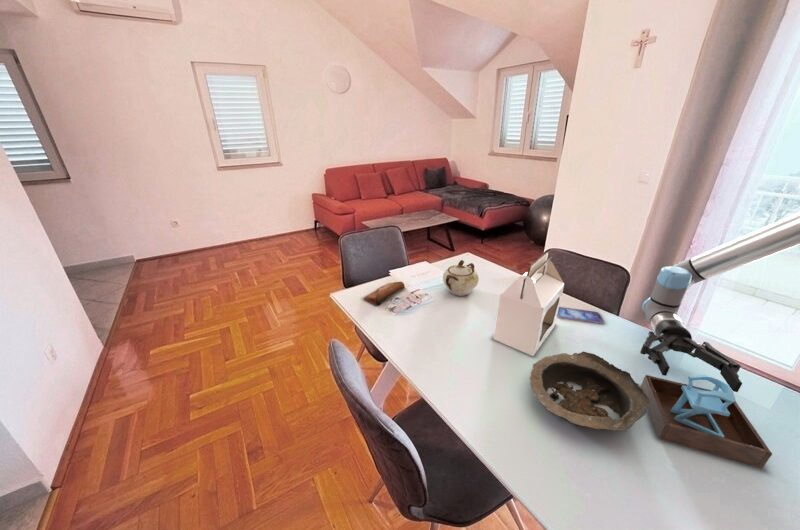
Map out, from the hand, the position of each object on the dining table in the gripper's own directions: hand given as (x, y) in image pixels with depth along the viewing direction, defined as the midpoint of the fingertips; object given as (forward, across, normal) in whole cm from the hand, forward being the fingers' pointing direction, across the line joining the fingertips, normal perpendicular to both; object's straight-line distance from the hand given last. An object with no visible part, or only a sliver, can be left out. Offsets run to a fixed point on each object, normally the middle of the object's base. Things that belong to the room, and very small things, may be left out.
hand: (700, 379), depth 75 cm
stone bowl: (+9, +25, -10) cm, 29 cm away
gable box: (-19, +39, -10) cm, 44 cm away
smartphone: (-38, +21, -10) cm, 44 cm away
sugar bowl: (-40, +67, -10) cm, 79 cm away
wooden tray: (+4, 0, -10) cm, 11 cm away
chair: (+4, 0, -9) cm, 10 cm away
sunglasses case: (-25, +96, -10) cm, 99 cm away
